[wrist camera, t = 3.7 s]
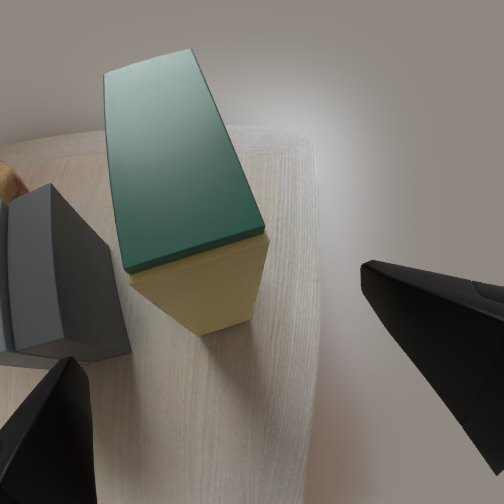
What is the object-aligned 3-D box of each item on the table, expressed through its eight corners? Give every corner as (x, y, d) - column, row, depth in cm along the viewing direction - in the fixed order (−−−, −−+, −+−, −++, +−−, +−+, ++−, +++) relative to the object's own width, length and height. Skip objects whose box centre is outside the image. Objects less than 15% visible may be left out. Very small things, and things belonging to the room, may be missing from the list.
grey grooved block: (132, 352, 19) (58, 337, 10) (59, 370, 18) (-31, 360, 10) (109, 246, 22) (46, 176, 13) (43, 269, 21) (-33, 218, 12)
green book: (251, 320, 20) (271, 235, 7) (198, 337, 20) (123, 281, 7) (214, 212, 23) (193, 47, 10) (167, 226, 23) (102, 73, 9)
